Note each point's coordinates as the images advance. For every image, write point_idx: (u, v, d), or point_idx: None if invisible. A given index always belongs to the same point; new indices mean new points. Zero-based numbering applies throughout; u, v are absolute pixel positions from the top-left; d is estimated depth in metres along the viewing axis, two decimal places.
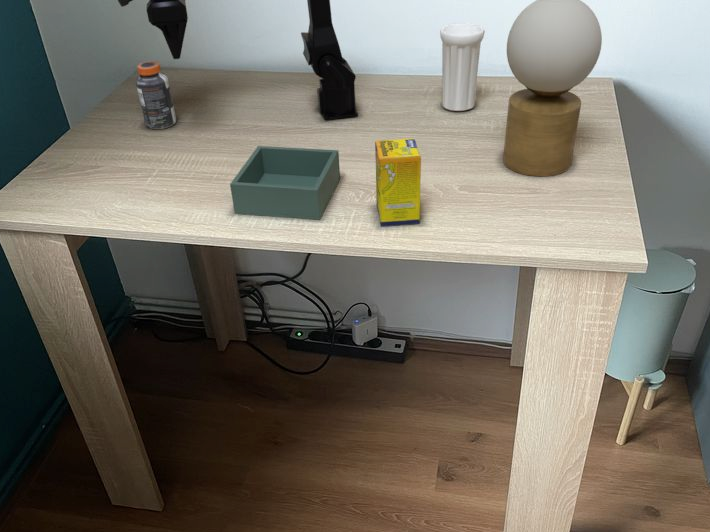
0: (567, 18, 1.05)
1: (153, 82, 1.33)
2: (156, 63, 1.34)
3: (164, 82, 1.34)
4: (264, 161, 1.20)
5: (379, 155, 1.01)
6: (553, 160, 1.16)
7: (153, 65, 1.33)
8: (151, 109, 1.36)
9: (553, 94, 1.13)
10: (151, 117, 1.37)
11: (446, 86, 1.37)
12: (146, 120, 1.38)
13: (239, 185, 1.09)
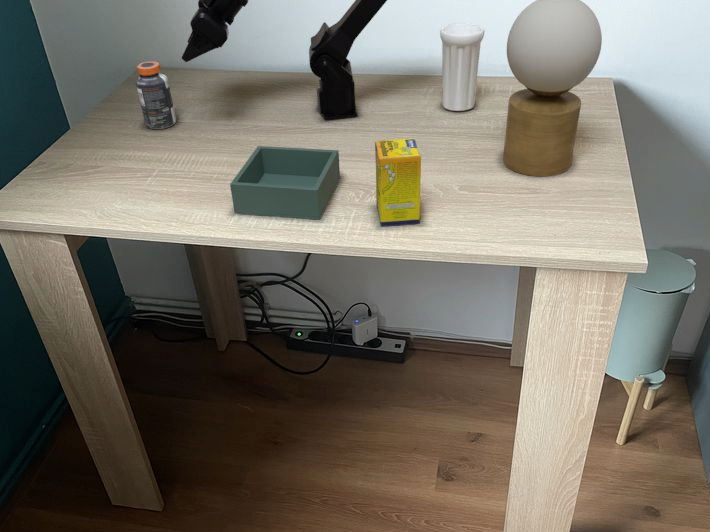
0: (567, 18, 1.05)
1: (153, 82, 1.33)
2: (156, 63, 1.34)
3: (164, 82, 1.34)
4: (264, 161, 1.20)
5: (379, 155, 1.01)
6: (553, 160, 1.16)
7: (153, 65, 1.33)
8: (151, 109, 1.36)
9: (553, 94, 1.13)
10: (151, 117, 1.37)
11: (446, 86, 1.37)
12: (146, 120, 1.38)
13: (239, 185, 1.09)
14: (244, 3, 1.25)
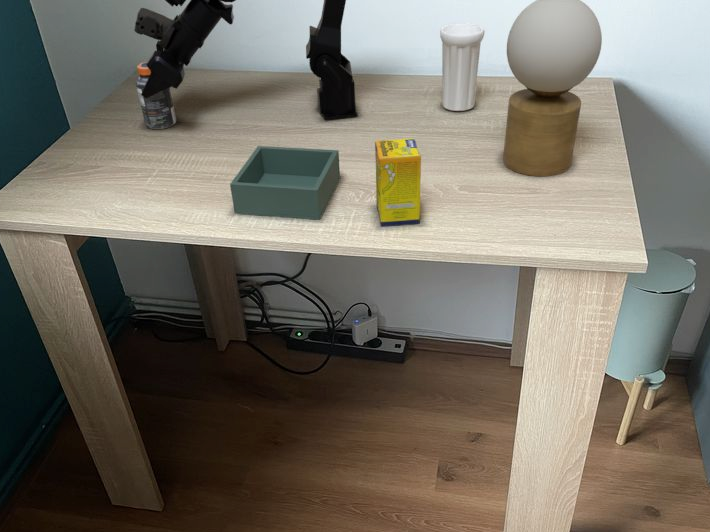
0: (567, 18, 1.05)
1: None
2: None
3: None
4: (264, 161, 1.20)
5: (379, 155, 1.01)
6: (553, 160, 1.16)
7: None
8: (151, 109, 1.36)
9: (553, 94, 1.13)
10: (151, 117, 1.37)
11: (446, 86, 1.37)
12: (146, 120, 1.38)
13: (239, 185, 1.09)
14: (199, 45, 1.29)
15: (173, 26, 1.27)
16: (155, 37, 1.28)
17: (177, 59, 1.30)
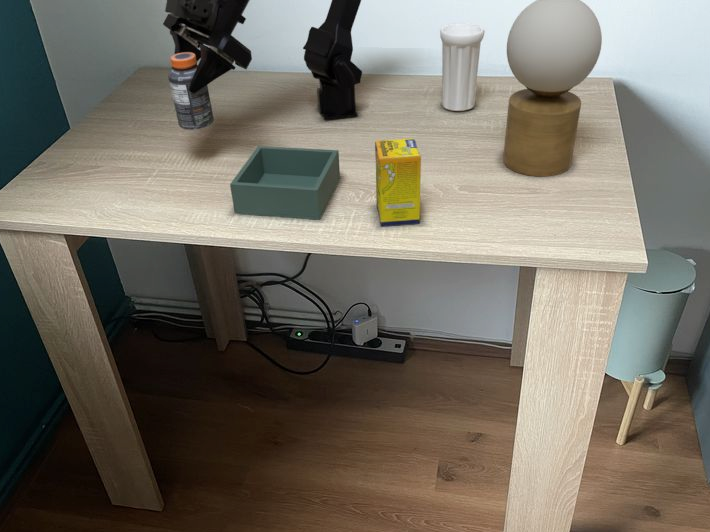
0: (567, 18, 1.05)
1: None
2: (189, 53, 1.16)
3: None
4: (264, 161, 1.20)
5: (379, 155, 1.01)
6: (553, 160, 1.16)
7: (190, 55, 1.15)
8: (198, 106, 1.18)
9: (553, 94, 1.13)
10: (197, 116, 1.19)
11: (446, 86, 1.37)
12: (189, 121, 1.19)
13: (239, 185, 1.09)
14: (243, 20, 1.16)
15: (217, 3, 1.12)
16: (200, 19, 1.12)
17: None
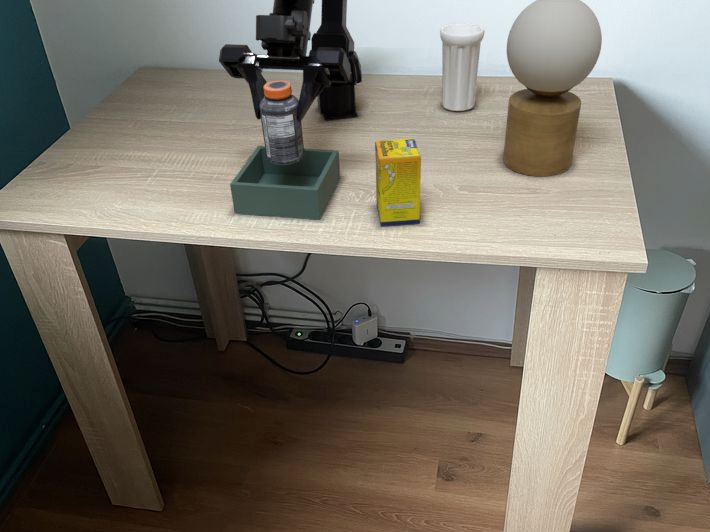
0: (567, 18, 1.05)
1: (297, 99, 1.06)
2: (276, 81, 1.06)
3: None
4: (264, 161, 1.20)
5: (379, 155, 1.01)
6: (553, 160, 1.16)
7: (283, 82, 1.05)
8: (300, 134, 1.08)
9: (553, 94, 1.13)
10: (299, 146, 1.09)
11: (446, 86, 1.37)
12: (292, 154, 1.09)
13: (239, 185, 1.09)
14: (310, 36, 1.09)
15: None
16: (295, 40, 1.03)
17: None
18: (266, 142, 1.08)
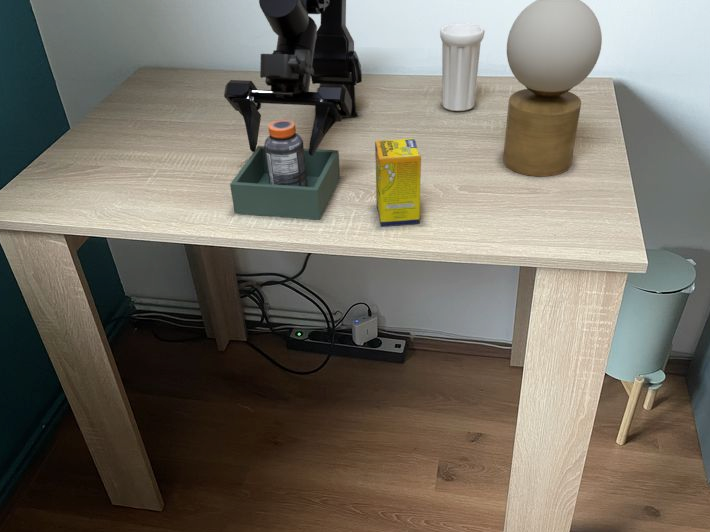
0: (567, 18, 1.05)
1: (301, 138, 1.10)
2: (281, 120, 1.10)
3: None
4: (264, 161, 1.20)
5: (379, 155, 1.01)
6: (553, 160, 1.16)
7: (287, 121, 1.09)
8: (303, 171, 1.12)
9: (553, 94, 1.13)
10: (303, 182, 1.13)
11: (446, 86, 1.37)
12: None
13: (239, 185, 1.09)
14: (312, 71, 1.13)
15: None
16: (298, 77, 1.06)
17: None
18: (271, 178, 1.12)
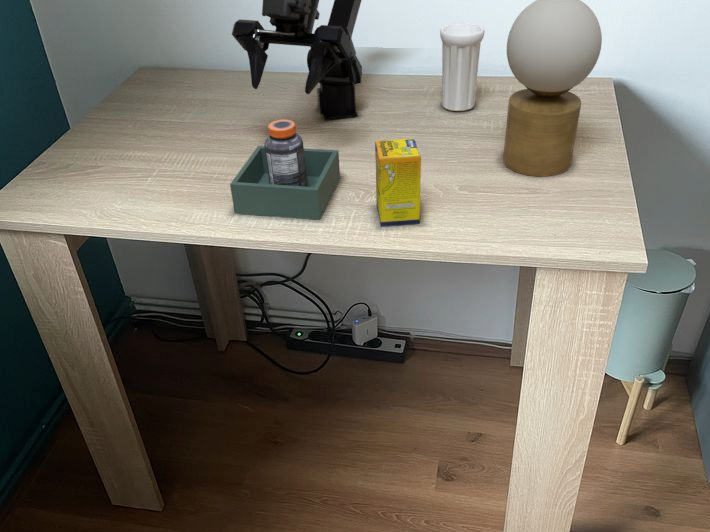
0: (567, 18, 1.05)
1: (301, 138, 1.10)
2: (281, 120, 1.10)
3: None
4: (264, 161, 1.20)
5: (379, 155, 1.01)
6: (553, 160, 1.16)
7: (287, 121, 1.09)
8: (303, 171, 1.12)
9: (553, 94, 1.13)
10: (303, 182, 1.13)
11: (446, 86, 1.37)
12: None
13: (239, 185, 1.09)
14: (318, 15, 1.18)
15: None
16: (298, 17, 1.12)
17: None
18: (270, 178, 1.12)
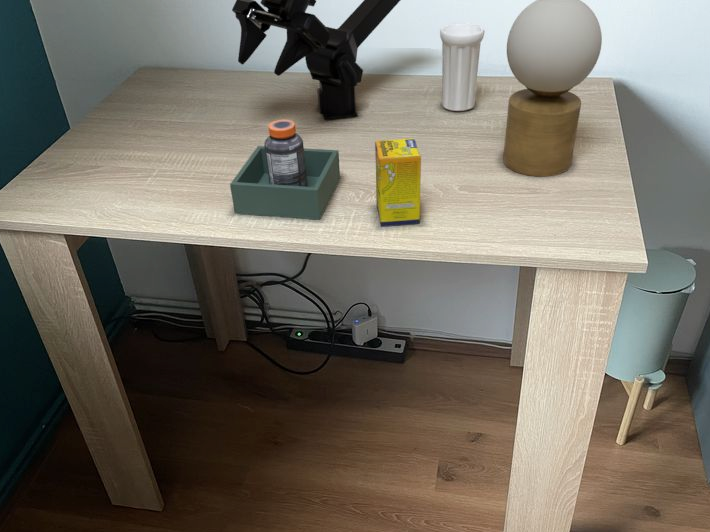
0: (567, 18, 1.05)
1: (301, 138, 1.10)
2: (281, 120, 1.10)
3: None
4: (264, 161, 1.20)
5: (379, 155, 1.01)
6: (553, 160, 1.16)
7: (287, 121, 1.09)
8: (303, 171, 1.12)
9: (553, 94, 1.13)
10: (303, 182, 1.13)
11: (446, 86, 1.37)
12: None
13: (239, 185, 1.09)
14: (313, 2, 1.22)
15: None
16: (279, 1, 1.17)
17: None
18: (271, 178, 1.12)
